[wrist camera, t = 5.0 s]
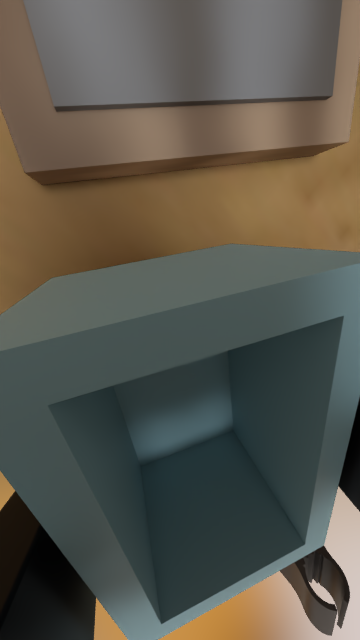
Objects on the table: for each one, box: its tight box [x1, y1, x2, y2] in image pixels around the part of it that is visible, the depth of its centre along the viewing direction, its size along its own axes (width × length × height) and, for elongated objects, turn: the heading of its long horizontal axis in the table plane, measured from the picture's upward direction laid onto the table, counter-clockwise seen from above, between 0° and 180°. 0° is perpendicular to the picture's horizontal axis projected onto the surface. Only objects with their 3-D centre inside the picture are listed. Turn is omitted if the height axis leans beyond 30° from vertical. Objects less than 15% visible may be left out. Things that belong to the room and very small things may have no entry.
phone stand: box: [280, 546, 350, 635], centre depth 22 cm, size 9×6×12 cm, turn 102°
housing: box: [0, 244, 360, 640], centre depth 7 cm, size 6×10×5 cm, turn 8°
